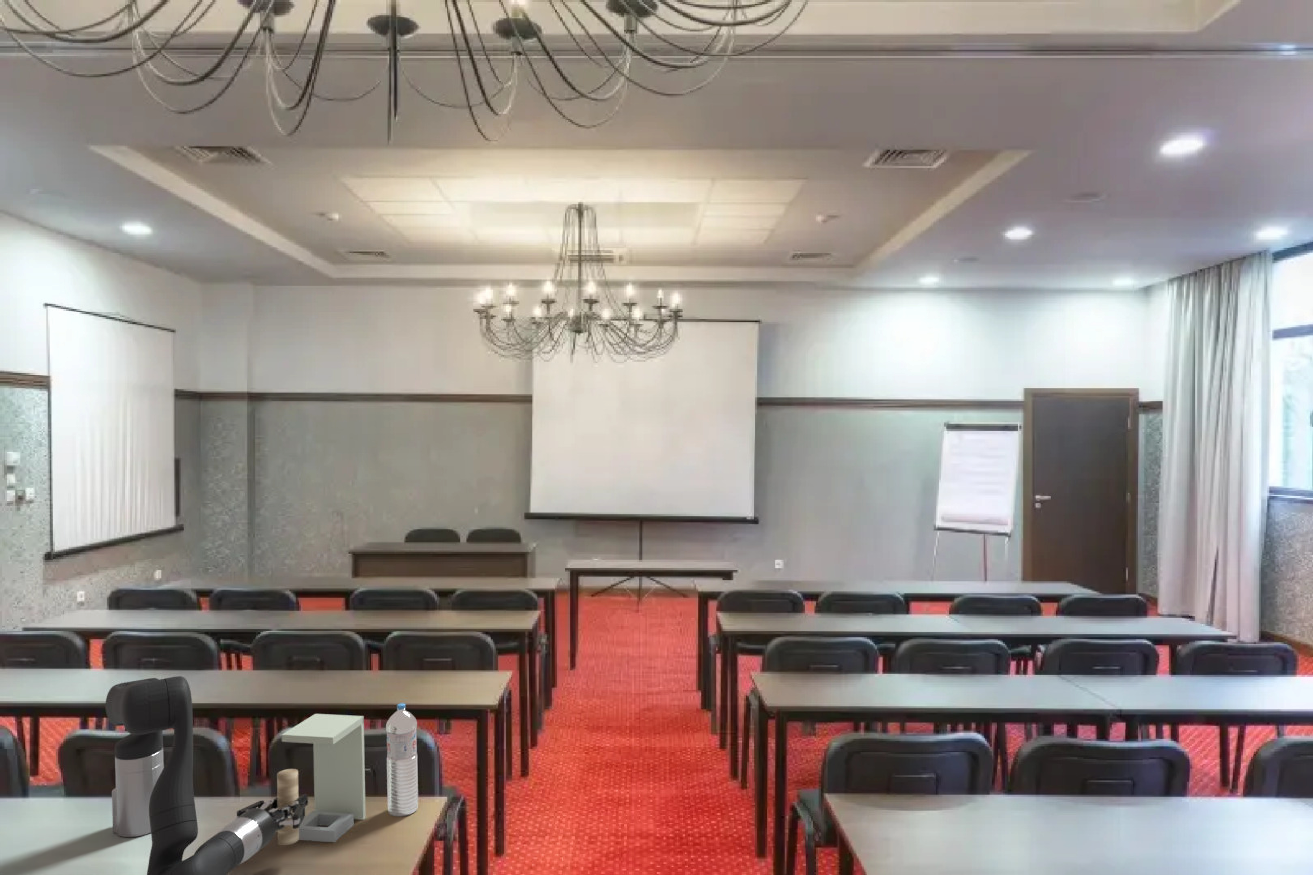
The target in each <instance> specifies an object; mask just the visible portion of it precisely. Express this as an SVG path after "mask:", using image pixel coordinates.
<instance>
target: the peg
mask: <svg viewBox="0 0 1313 875" xmlns="http://www.w3.org/2000/svg"><path fill="white" fill-rule="evenodd" d="M276 780H277V781H276V789H277V791H276V793H277V794H276V795H277V796H276V798H277V808H278V807H280V806H282V805H284V804H288V805H289V804H290V803H292V802H294V801H295V800H297V799H298V798H299V797H300V796H299V770H298V769H296V768H287V769H283V770H280V771H278V772H277V773H276ZM291 813H292V809H291ZM298 841H300V840H299V828H296V829H293V826H292V825H285V826H284V828H282V829H280V830H278V831H277V844H278V845H279V846H289V845H293V844H295V843H297V842H298Z"/></svg>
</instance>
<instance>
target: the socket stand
mask: <svg viewBox="0 0 1313 875" xmlns="http://www.w3.org/2000/svg"><path fill="white" fill-rule="evenodd" d="M364 717H365V716H364V715H351V714H350V715H348V714H329V713H327V714H325V713H314V714H312V715H311V716H310V717H308V718H306V719H304V720H303V721H301V722H300V723H299V724H296V725H295V726H293V727H292V728H290V729H288V730H287V731H285V732H284V733H282V734H281V742H283V743H296V744H297V743H300V744H313V746H312V748H313V749H312V750H313V784H314V785H313V789H314V790H313V791H314V793H313V794H314V796H313V798H314V810H312V811H311V812H309V813H308V814H307V815H305V817H304V819H303V821H302V823H301V824H300V826H299V840H298V841H310V840H311V841H312V842H324V843H325V842H326V843H336V842H337V841H338V840H339V839H340V838H341V837H342V836H343V835H344V834H346V833H347V832H348V830H350V829H351V828H352V827H353V826H354V824H355V822H354V820H361V821H363V820H365V819H366V778H365V777H366V773H365V771H366V770H365V769H366V768H365V766H366V765H365V721H364V720H365V718H364ZM311 841H310V842H311Z"/></svg>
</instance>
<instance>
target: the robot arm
mask: <svg viewBox="0 0 1313 875" xmlns="http://www.w3.org/2000/svg"><path fill="white" fill-rule="evenodd" d="M192 700H193V699H192V692H191V686H190V684H189V682H188V680H187V678H185V676H181V675H177V676H171V677H166V678H161V679H159V678H157V677H150V678H145V679H139V680H138V679H137V680H132V681H127V682H126V681H125V682H120V683H117V684H115V685H112V687H110V689H109V690H108V692H107V695H106V699H105V713H106V717H107V719H108V721H109V722H110V723H111V725H113V726H116V727H124V729H125V730H126V731H127V732H128V735H126V736H124V737H122V738H121V739H119V740H118V741H117V742H115V746H114V765H115V767H114V769H115V771H114V772H115V788H113V789H112V791H111V811H112V812H111V813H112V832H113V833H116V834H117V836H120V837H124V838H133V837H141V836H145V835H147V834H150V835H151V836H150V837H151V848H150V849H151V850H150V854H149V859H148V865H147V871H146V872H147V873H146V875H228V874H229V873H231V872H232V871H233V870H234V869H236V868H237V867H239V865H241V864H243V863H245V862H246V861H248V860H249V859H251V857H253V856H254V855H255V854H256V853H257V852H259V851H260V850H261V849H263V848H264V847H265V846H266V845H268V844H269V843H270V842H271V841H272V839H273V838H274V836H275V834H276V832H278V830H280V829H282V828H284V826H285V825H292V826H293V829H296V828H299V826H300V824H301V823H302V821H303V819H304V818H305V817H306V806H308V805H309V797H308V794H306V793H304V794H301V795H299V796H298V797H299V798H298V799H297V800H295V801H294V802H292V803H290V804H289V805H288V804H284V805H282V806H280V807H278V808H277V797H275V798H273V799H269V800H267V802H265V800H259V801H256V802H254V803H252V804H249V805H248V806H247V805H246V807H242V808H241V809H239V810H237V811H236V818H234V819H233V820H232V821H231V822H229V823H228V824H225V826H223V827H221V829H220V830H219V831H218V832H217V833H216V834H215V835H213V836H212V837H210V838H208V839H207V840H206V841H205V842H203V843H202V844H201V845H200V846H198V848H197V849H196V851H195V852H194V854H192V855H190V856H189V857H188V858H185V859H184V860H183V857H184V852H185V850H186V849H187V848H188V847H189V846H190V845H191V844H192V843H193V842H194V841H196V839H197V838H198V834H199V828H198V826H199V825H198V820H197V819H198V817H197V811H196V809H197V808H196V803H195V794H194V778H193V777H194V776H193V775H194V774H193V773H194V772H193V771H194V767H193V766H194V723H193V720H194V719H193V716H194V715H193V701H192ZM171 729H173V742H172V747H171V750H170V753H169V755H168V758H167V760H166V762H165V763H164V742H163V740H164V739H163V738H164V737H163V735H164V734H163V731H165V730H171ZM291 809H292V813H291Z"/></svg>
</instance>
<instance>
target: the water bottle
mask: <svg viewBox="0 0 1313 875" xmlns="http://www.w3.org/2000/svg"><path fill="white" fill-rule="evenodd" d="M417 726H418V721H417V719H416V717H415V716H414V715H413V714H412V713H411V712H410V711H408V710H406V703H402V702H401V703H398V704H397V705H396V711H395V712H394V713H393V714H392V715H391V716H390V717H389V718H388V720H387V722H386V725H385V729H386V750H387V751H386V756H387V757H386V780H387V782H386V785H387V786H386V789H387V796H386V797H387V810H388V814H389V815H390V816H393V817H407V816H410V815H412V814H413V813H415V812H416V811H417V810H418V806H419V788H418V787H419V784H418V782H419V780H418V779H419V777H418V776H419V775H418V774H419V773H418V771H419V770H418V752H417V751H418V750H417V748H418V746H417V742H418V741H417Z"/></svg>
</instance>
